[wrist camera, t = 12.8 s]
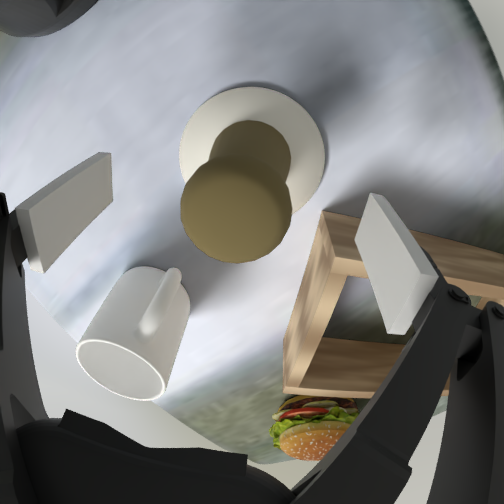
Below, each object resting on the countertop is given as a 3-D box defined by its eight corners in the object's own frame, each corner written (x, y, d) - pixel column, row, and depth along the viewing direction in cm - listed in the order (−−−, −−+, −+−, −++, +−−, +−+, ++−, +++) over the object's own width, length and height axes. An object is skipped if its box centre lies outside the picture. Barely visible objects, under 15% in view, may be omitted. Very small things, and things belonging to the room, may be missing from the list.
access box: (322, 210, 25) (335, 256, 19) (510, 256, 25) (543, 295, 19) (283, 339, 33) (282, 393, 27) (450, 352, 33) (467, 393, 27)
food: (276, 432, 46) (275, 473, 39) (265, 390, 38) (261, 442, 32) (357, 424, 43) (362, 465, 37) (367, 380, 36) (376, 431, 30)
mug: (153, 220, 26) (100, 292, 17) (229, 270, 28) (208, 358, 20) (109, 296, 32) (68, 366, 23) (170, 335, 34) (144, 409, 25)
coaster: (188, 79, 20) (186, 79, 19) (337, 102, 20) (338, 103, 19) (177, 211, 26) (175, 214, 25) (306, 232, 26) (306, 235, 25)
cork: (245, 211, 24) (227, 303, 15) (193, 155, 22) (136, 216, 13) (307, 166, 22) (332, 237, 13) (255, 103, 20) (238, 122, 11)
